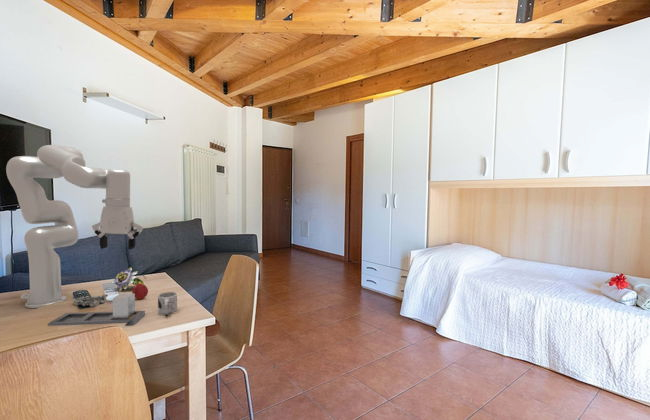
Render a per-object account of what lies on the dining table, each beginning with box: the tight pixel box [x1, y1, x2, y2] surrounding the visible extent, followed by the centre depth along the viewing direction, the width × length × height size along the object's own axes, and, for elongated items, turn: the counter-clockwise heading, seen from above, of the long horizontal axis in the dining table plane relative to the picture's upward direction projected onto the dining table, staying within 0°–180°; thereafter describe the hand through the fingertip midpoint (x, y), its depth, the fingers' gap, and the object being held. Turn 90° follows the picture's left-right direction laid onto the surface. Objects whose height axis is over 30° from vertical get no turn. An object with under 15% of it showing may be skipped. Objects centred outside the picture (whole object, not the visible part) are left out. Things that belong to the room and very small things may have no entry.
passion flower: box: [111, 267, 147, 292], centre depth 148 cm, size 11×11×12 cm
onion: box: [131, 282, 149, 300], centre depth 133 cm, size 6×6×8 cm
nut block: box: [112, 292, 136, 320], centre depth 113 cm, size 5×5×8 cm
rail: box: [47, 310, 146, 327], centre depth 112 cm, size 27×9×2 cm, turn 98°
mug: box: [157, 291, 178, 316], centre depth 120 cm, size 10×7×7 cm
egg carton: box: [72, 294, 109, 307], centre depth 127 cm, size 11×8×4 cm
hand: (117, 248), depth 117 cm, fingers open, 9 cm apart
